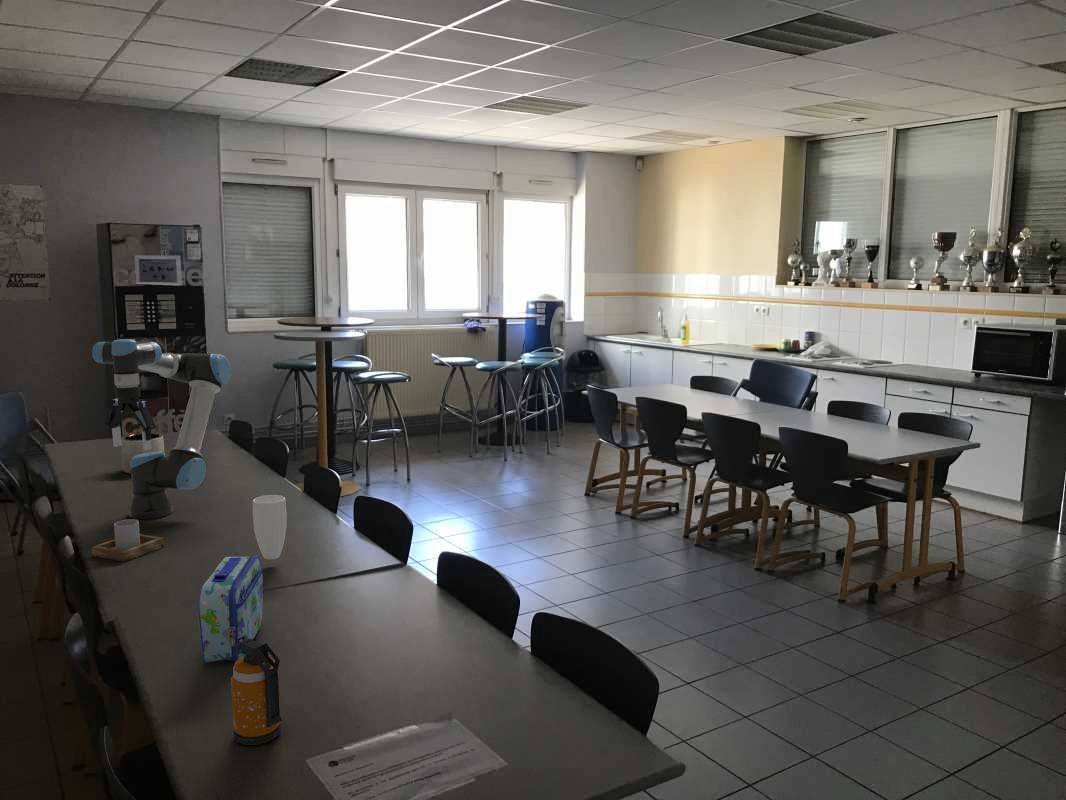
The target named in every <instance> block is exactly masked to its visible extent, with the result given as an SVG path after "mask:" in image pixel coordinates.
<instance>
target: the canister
mask: <svg viewBox="0 0 1066 800" xmlns="http://www.w3.org/2000/svg"><path fill="white" fill-rule="evenodd" d="M236 646H237V648H238V649H241V653H242V654H244V655H245V656H243V657H241V658H240V659H238V660H237V661H236V662H235V661H234V665H233V667H232V671H233V675H232V676H231V677H230V690H231V709H232V724H233V727H232V728H233V738H234V740H235V741H236V742H237V743H238V744H242V745H249V746H250V745H252V746H253V745H260V744H264V743H267V742H270V741H271V740H273V739H276V737H278V735H279V734H280V733H281V730H282V723H281V722H282V721H283V719H282V717H281V704H280V703H281V701H280V700H281V699H280V682H279V681H280V679H279V666H280V661H281V660H280V658H279V657H278V656H277V654H276V653H275V652H274V650H273V649H272V648H271V647H270V646H269V645H268V643H267V642H266V643H262V642H259V641H256V640H254V639H251V638H249V639H246V640H244V641H241V642H240V643H238V644H236Z"/></svg>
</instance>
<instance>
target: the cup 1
mask: <svg viewBox="0 0 1066 800" xmlns="http://www.w3.org/2000/svg"><path fill="white" fill-rule="evenodd" d="M113 529H114V539H115V544H116V549H117V550H122V551H125V550H128V549H130V548H133V547H136V546H139V545H140V534H141V533H140V523H139V519H134V518H131V519H124V520H123V519H122V520H119V521H116V522H114V523H113Z"/></svg>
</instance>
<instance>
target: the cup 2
mask: <svg viewBox="0 0 1066 800" xmlns="http://www.w3.org/2000/svg"><path fill="white" fill-rule="evenodd" d="M287 514H288V513H287V504H286V497H285V496H283V495H280V494H279V495H277V494H269V495H261V496H260V495H259V496H258V497H255V498H254V499H252V521H253V522H252V524H253V531H254V535H255V539H256V542H257V545H258V546H257V547H259V550H260V553H261V555H262V556H263V558H264V559H265V560H276V559H279V558H280V556H281V555H282V551H283V547H284V544H285V541H286V533H287V516H288V515H287Z"/></svg>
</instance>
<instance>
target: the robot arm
mask: <svg viewBox="0 0 1066 800" xmlns="http://www.w3.org/2000/svg"><path fill="white" fill-rule="evenodd" d="M91 350H92V353H91V356H92V358H93V360H94V361H95V362H96V363H98V364H104V365H106V364H109V365H113V376H114V378H113V379H114V386H115V388H114V393H115V398H113V399H110V407H109V410H108V413H107V417H106V420H105V425H106V426H109V427H110V432H111V437H112V443H113V447H114V448H117V447H121V445H122V442H121V438H122V434H121V433H122V432H121V426H120V423H121V422H122V420H123V418H124V416H125V415H126V414H128V415H132V416H133V417H134V418H135V419H136V422H138V425H140V427H141V428H142V431H141V433H142V439H143V450H144V451H146V450H149V449H152V448H151V439H152V436H151V433H152V430H155V429H156V428H157V425H156V424H155V421H154V419H153V417H152V415H151V412H150V410H149V407H148V401H147V400H142V401H140V400H139V399H140V397H141V386H139V385H140V373H139V372H140V371H139V370H141V371H146V372H149V373H155V374H158V375H159V376H160V377H163V378H166V379H170V380H174V381H177V382H182V383H185V384H188V385H189V386H190V387H191V391H190V394H189V399H188V402H187V405H186V408H185V412H184V416H183V420H182V423H181V426H180V431H179V434H178V438H177V441H176V444H175V446H174V447H173V448H171V449H170V450H169V453H168V456H166V454H164V452H165V451H164V452H162V451H156V452H148V453H143V454H139V455H136V456H134V457H132V458H131V461H130V470H131V474H130V478H131V490H132V495H131V500H130V507H128V516H129V518H131V519H133V520H150V519H151V520H152V519H158V518H163V517H167V516H169V515H171V514H172V513H173V512H174V507H173V504H172V502H171V500H170V497H169V495H168V492H167V489H172V490H173V489H175V490H176V489H177V490H181V491H183V490H194V489H196V488H197V487H199V486H201V483H203V481H204V479H205V476H206V474H207V473H206V472H207V468H206V466H207V465H206V462H205V461H204V459H203V458H204V457H203V454H202V453H201V448H202V444H203V440H204V437H205V433H206V429H207V425H208V422H209V419H210V414H211V410H212V408H213V404H214V400H215V396H216V394H217V393H220V392H221V389H222V386H223V385H227V384H229V382H230V380H231V378H232V368H231V365H230V362H229V360H228V358H227V357H226V356H225V355H223V354H221V353H220V354H219V353H190V352H187V353H184V352H183V353H172V352H164V353H163V352H162V348H161V346H160V345H159V344H158V343H157V342H155V341H145V342H137V341H136V340H135V339H133V338H132V339H130V338H128V339H127V338H126V339H122V338H121V339H115V340H113V341H98V342H96V343H95V344H94V345H93V347H92V349H91ZM164 455H165V457H164Z"/></svg>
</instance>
